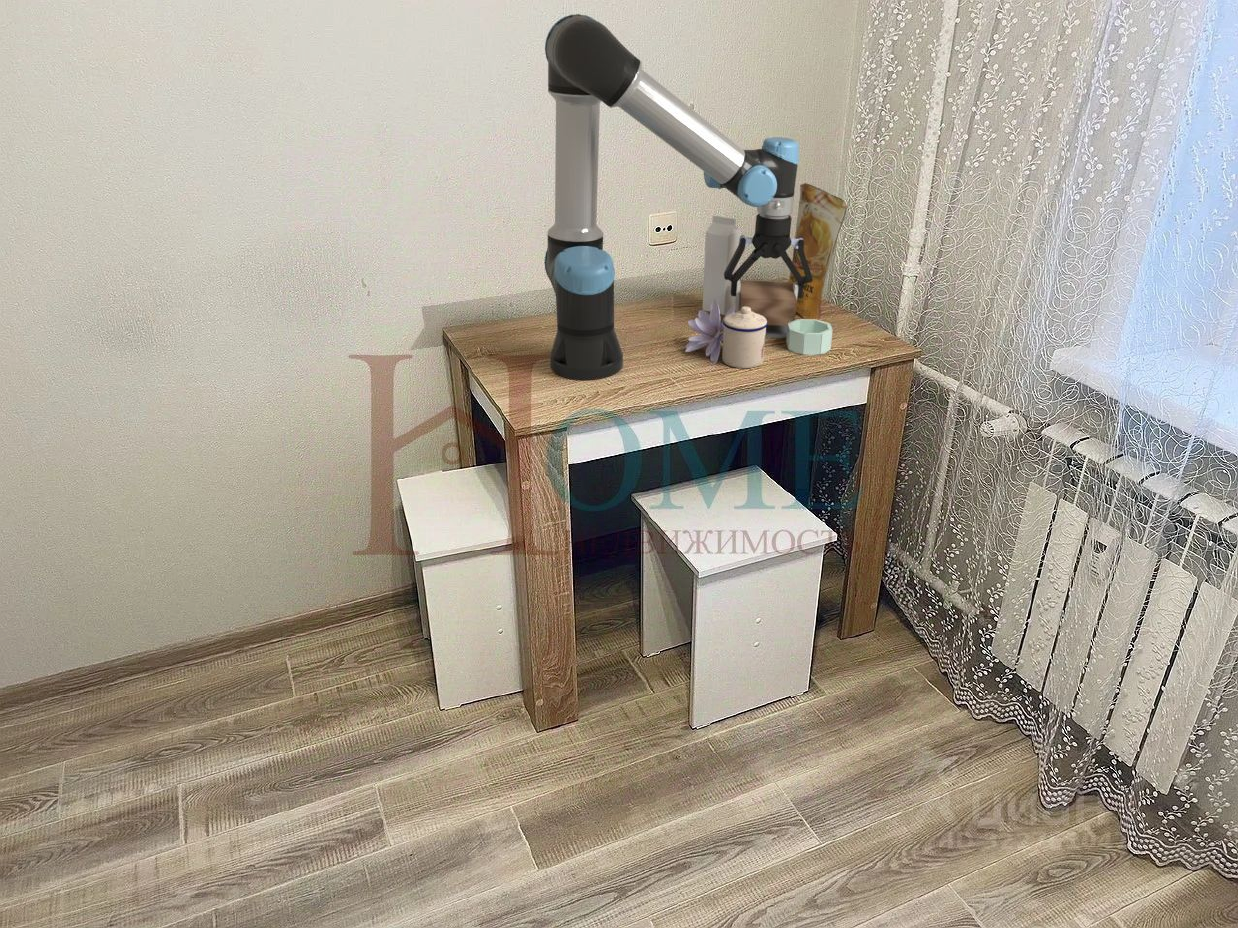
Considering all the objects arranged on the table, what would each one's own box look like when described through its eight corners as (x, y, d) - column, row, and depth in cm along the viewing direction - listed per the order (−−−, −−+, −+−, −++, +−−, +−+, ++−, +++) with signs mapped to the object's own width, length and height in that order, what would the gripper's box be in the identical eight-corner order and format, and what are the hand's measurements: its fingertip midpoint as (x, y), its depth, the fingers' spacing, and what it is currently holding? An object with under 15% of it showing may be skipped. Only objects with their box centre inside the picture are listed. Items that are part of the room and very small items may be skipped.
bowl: (789, 356, 197) (791, 334, 195) (784, 340, 205) (786, 319, 202) (832, 356, 197) (834, 334, 194) (825, 340, 204) (828, 319, 202)
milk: (714, 304, 225) (719, 212, 214) (737, 309, 222) (742, 216, 211) (701, 311, 221) (705, 218, 210) (724, 316, 218) (729, 222, 207)
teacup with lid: (771, 366, 192) (775, 313, 186) (730, 371, 190) (733, 317, 184) (749, 345, 202) (752, 293, 196) (709, 349, 200) (712, 298, 194)
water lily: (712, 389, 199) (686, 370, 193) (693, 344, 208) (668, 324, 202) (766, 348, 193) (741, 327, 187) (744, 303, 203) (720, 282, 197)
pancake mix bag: (803, 296, 229) (814, 180, 216) (836, 323, 213) (850, 200, 200) (777, 298, 228) (786, 182, 214) (809, 326, 212) (821, 202, 198)
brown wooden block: (739, 324, 205) (741, 297, 202) (735, 305, 215) (737, 280, 212) (793, 326, 204) (796, 299, 202) (787, 307, 215) (790, 282, 212)
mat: (736, 338, 206) (736, 337, 206) (733, 316, 218) (733, 314, 218) (800, 339, 205) (800, 338, 205) (793, 316, 217) (793, 315, 217)
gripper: (718, 217, 196) (711, 314, 206) (834, 221, 195) (821, 318, 206) (716, 208, 202) (709, 303, 213) (828, 212, 202) (816, 307, 212)
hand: (764, 310), depth 209 cm, fingers closed on brown wooden block, 12 cm apart
